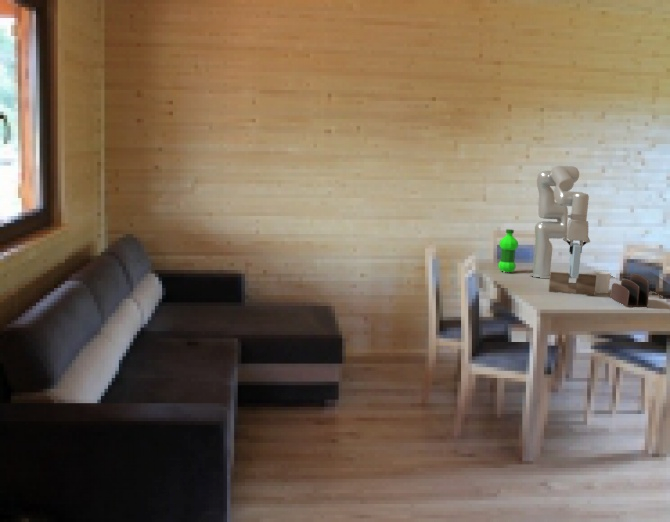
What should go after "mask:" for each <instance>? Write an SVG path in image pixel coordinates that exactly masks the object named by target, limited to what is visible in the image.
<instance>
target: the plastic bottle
mask: <svg viewBox="0 0 670 522" xmlns="http://www.w3.org/2000/svg"><path fill="white" fill-rule="evenodd" d="M514 231H515V230H514V229H509V228H507V229H506V230H505V233H506V235H505V236H504V237H502V238H501V239H500V241H499V247H500V261H499V262H498V270H500V271H501V272H502V271H505V272H511V273H513V272H514V271H515V269H516V267H517V266H516V263H515V261H516V260H515V257H516V250H517V249H518V247H519V242H518V240H517V239H516V238H515V237H514V236H513V234H514Z"/></svg>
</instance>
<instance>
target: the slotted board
mask: <svg viewBox="0 0 670 522" xmlns="http://www.w3.org/2000/svg"><path fill="white" fill-rule="evenodd" d="M595 284H596V275H593V274H592V273H591V274H590V273H589V274H588V273H579V276H578V278H575V282H570V275H569V273H568V272H562V271H559V272H558V271H550V278H549V283H548V292H549V293H558V292H562V294H571V293H573V294H574V295H584V294H587V295H586V296H595V295H596V294H595V293H596V292H595Z"/></svg>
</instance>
